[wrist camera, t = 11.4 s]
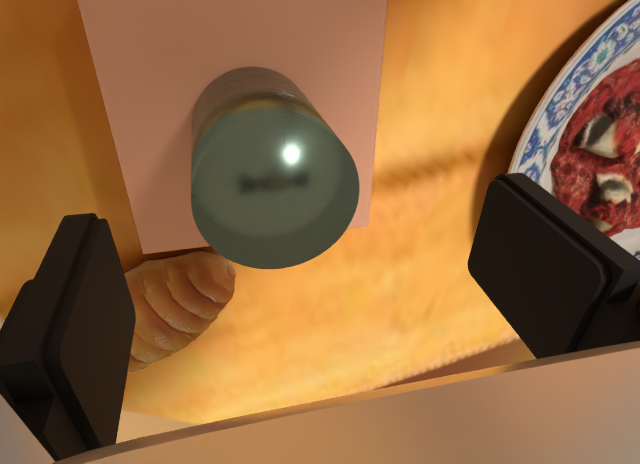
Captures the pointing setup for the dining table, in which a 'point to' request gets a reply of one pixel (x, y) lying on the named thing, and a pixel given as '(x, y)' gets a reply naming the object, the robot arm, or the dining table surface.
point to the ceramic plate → (593, 131)
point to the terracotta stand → (209, 63)
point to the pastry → (176, 302)
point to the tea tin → (267, 172)
